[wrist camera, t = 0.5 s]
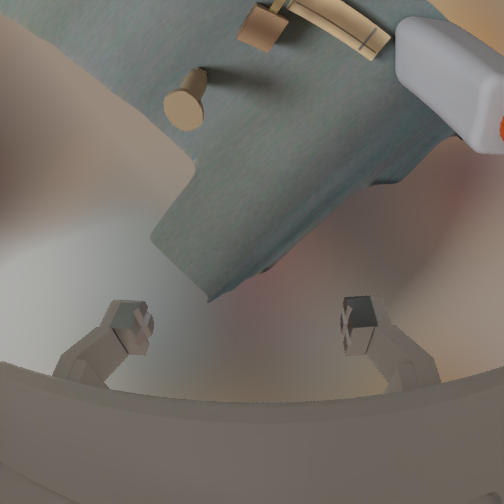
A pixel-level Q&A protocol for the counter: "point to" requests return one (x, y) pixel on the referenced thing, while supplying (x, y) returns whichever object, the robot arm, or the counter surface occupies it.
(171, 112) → the handle
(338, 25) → the board
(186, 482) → the robot arm
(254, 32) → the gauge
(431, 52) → the plastic bottle
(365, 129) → the counter surface
